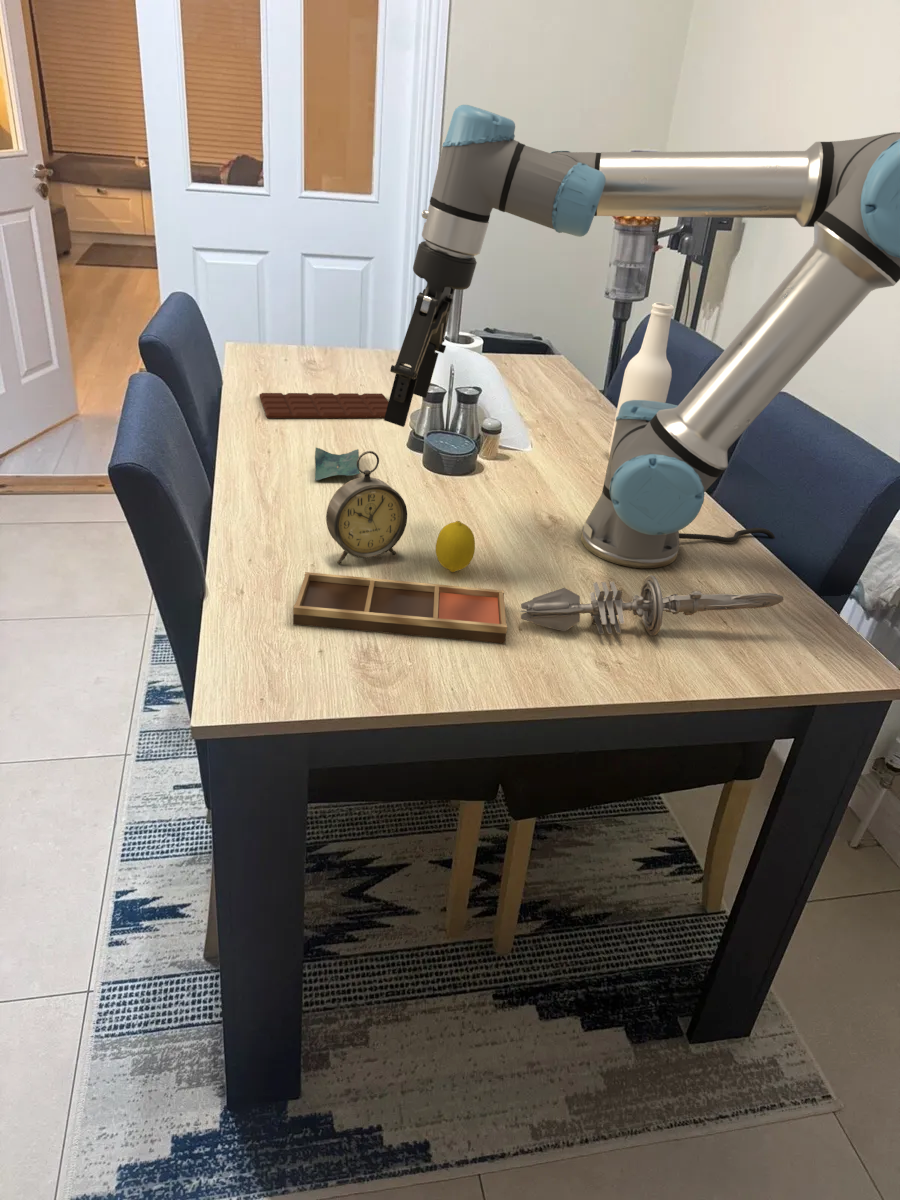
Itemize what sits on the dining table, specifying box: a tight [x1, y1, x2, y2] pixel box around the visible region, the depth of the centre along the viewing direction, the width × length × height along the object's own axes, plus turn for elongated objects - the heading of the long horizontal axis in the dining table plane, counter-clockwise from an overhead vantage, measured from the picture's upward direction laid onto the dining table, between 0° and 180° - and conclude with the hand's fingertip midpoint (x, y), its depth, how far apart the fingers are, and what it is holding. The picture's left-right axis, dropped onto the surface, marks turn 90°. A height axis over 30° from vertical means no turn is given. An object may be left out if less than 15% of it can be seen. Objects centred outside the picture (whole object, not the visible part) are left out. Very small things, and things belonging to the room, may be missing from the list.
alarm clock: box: [325, 450, 408, 565], centre depth 119 cm, size 11×5×16 cm, turn 117°
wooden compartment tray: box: [292, 571, 508, 644], centre depth 109 cm, size 27×9×2 cm, turn 89°
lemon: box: [435, 520, 476, 573], centre depth 119 cm, size 6×6×8 cm
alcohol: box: [608, 301, 675, 456], centre depth 162 cm, size 9×9×30 cm
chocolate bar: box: [259, 392, 389, 419], centre depth 178 cm, size 27×14×1 cm, turn 107°
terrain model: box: [314, 447, 361, 481], centre depth 149 cm, size 13×8×2 cm, turn 6°
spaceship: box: [519, 574, 784, 637], centre depth 111 cm, size 8×35×8 cm
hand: (406, 408), depth 116 cm, fingers open, 13 cm apart
